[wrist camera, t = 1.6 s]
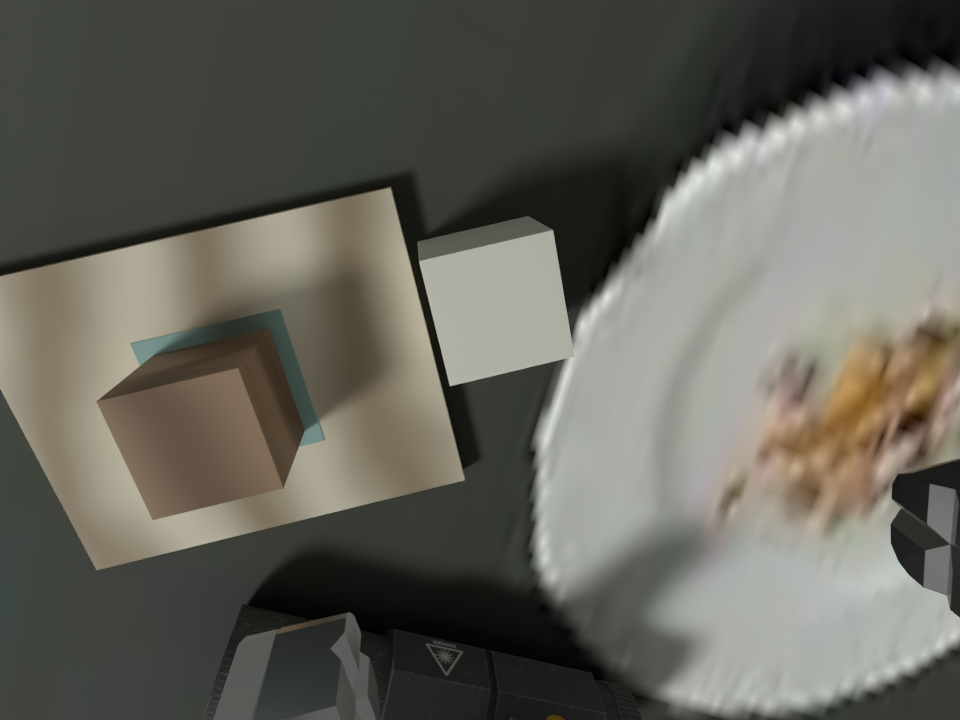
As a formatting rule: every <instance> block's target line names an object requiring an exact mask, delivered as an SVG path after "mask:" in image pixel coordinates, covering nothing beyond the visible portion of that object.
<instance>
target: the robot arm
mask: <svg viewBox="0 0 960 720" xmlns="http://www.w3.org/2000/svg"><path fill="white" fill-rule="evenodd" d="M892 500H893V501H894V502H895V503H896V504H897V505H898V506H899V507H900V508H901V509H900V511H899V512H898V514H897V515H896V517H895V518H894V520H893V521H892V523H891V544H892V547H893V549H894V551H895V554H896V556H897V558H898V561H899V562H900V564H901V565H902V566H903V568H904V569H905V570H906V571H907V573H908V574H909V575H910V576H911V577H912V578H913V579H915V580H916V581H917V582H918V583H919V584H920V585H922V586H923V587H925V588H927V589H930V590H933V591H936V592H939V593H941V594H944V595H947V598H948V602H949V607H950V610H951V611H953V612H954V613H955V614H956V615H958V616H959V617H960V458H959V459H955V460H951V461H947V462H943V463H939V464H935V465H931V466H927V467H924V468H920V469H916V470H912V471H908V472H904V473H900V474H898V475H897V477H896V479H895V480H894V482H893V484H892ZM360 643H361V632H360V629H359V626H358V624H357V621H356V619H355V616H354V615H353V614H351V613H350V612H348V613H344V614H339V615H335V616H331V617H326V618H322V619H317V620H313V621H309V622H304V623H300V624H296V625H291V626H287V627H282V628H281V629H276V630H272V631H267V632H263V633H259V634H255V635H250V636H246V637H245V638H244V639H243V640H242V641H241V642H240V643H239V645H238V647H237V650H236V653H235V656H234V659H233V662H232V665H231V668H230V671H229V674H228V677H227V680H226V683H225V686H224V689H223V692H222V695H221V698H220V701H219V704H218V707H217V710H216V713H215V716H214V719H213V720H380V706H379V696H378V687H377V682H376V678H375V673H374V670H373V667H372V664H371V660H370V658H369V657H368V656H366V655H365V654H363V653H361V652H360Z"/></svg>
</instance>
